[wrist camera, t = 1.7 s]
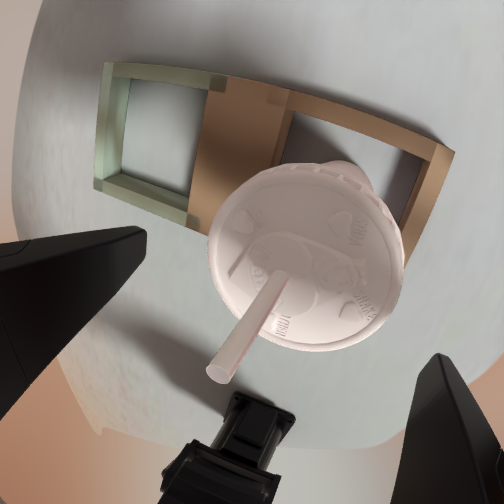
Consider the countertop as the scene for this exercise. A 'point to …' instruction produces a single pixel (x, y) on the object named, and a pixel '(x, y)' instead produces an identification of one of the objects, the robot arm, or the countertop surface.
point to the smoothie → (304, 260)
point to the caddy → (244, 144)
